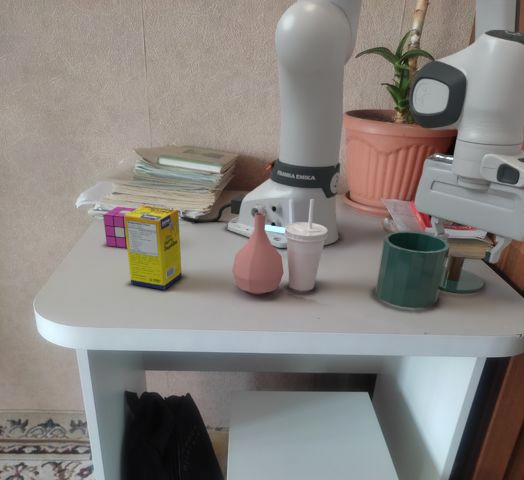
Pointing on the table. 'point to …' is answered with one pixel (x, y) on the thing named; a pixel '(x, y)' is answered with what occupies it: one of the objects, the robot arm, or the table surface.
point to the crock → (411, 269)
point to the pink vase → (258, 262)
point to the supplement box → (153, 246)
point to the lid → (459, 276)
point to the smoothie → (304, 251)
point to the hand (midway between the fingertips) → (464, 252)
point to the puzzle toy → (116, 226)
